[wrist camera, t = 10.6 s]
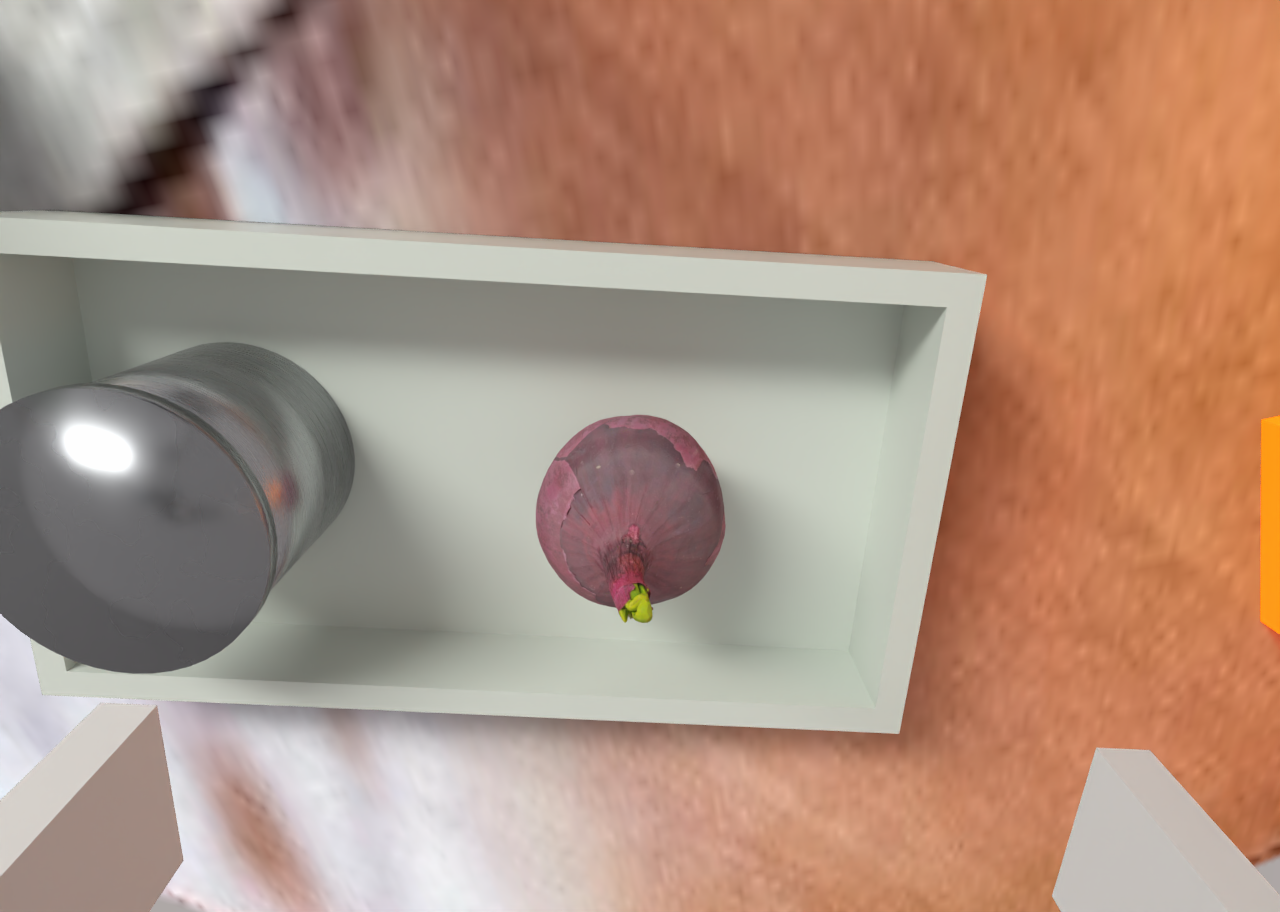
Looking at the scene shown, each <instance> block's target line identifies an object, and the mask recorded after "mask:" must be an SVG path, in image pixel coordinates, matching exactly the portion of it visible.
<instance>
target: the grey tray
mask: <svg viewBox="0 0 1280 912" xmlns="http://www.w3.org/2000/svg"><path fill="white" fill-rule="evenodd" d="M986 278H987V275H986V274H982V273H978V272H974V271H970V270H966V269H962V268H958V267H953V266H949V265H945V264H941V263H937V262H933V261H916V260H899V259H882V258H865V257H848V256H831V255H814V254H796V253H779V252H762V251H745V250H728V249H711V248H694V247H676V246H659V245H642V244H625V243H608V242H591V241H574V240H556V239H539V238H522V237H505V236H488V235H471V234H454V233H436V232H419V231H402V230H385V229H368V228H351V227H334V226H316V225H299V224H282V223H265V222H248V221H231V220H214V219H196V218H179V217H162V216H145V215H128V214H111V213H94V212H76V211H59V210H35V211H7V212H0V409H2V408H3V407H5V406H6V405H8V404H11V403H13V402H15V401H17V400H19V399H21V398H24V397H27V396H30V395H32V394H35V393H38V392H42V391H45V390H48V389H52V388H55V387H59V386H65V385H72V384H79V383H91V382H94V381H97V380H99V379H102V378H105V377H108V376H111V375H114V374H116V373H119V372H122V371H125V370H128V369H131V368H133V367H136V366H139V365H142V364H145V363H147V362H150V361H153V360H156V359H159V358H162V357H164V356H167V355H170V354H173V353H176V352H179V351H181V350H184V349H187V348H190V347H194V346H197V345H201V344H207V343H214V342H235V343H244V344H249V345H253V346H258V347H262V348H264V349H267V350H270V351H272V352H275V353H278V354H279V355H281V356H283V357H285V358H287V359H289V360H291V361H293V362H294V363H296V364H297V365H299V366H300V367H302V368H303V369H304V370H306V371H307V372H308V373H309V374H310V375H312V376H313V377H314V378H315V379H316V380H317V381H318V382H319V383H320V384H321V385H322V386H323V387H324V388H325V389H326V390H327V392H328V393H329V394H330V396H331V397H332V398H333V400H334V401H335V402H336V404H337V406H338V407H339V409H340V411H341V413H342V415H343V416H344V419H345V421H346V424H347V426H348V428H349V431H350V435H351V439H352V442H353V448H354V456H355V472H354V479H353V485H352V488H351V491H350V495H349V497H348V500H347V502H346V504H345V506H344V508H343V509H342V511H341V512H340V514H339V515H338V517H337V518H336V519H335V520H334V522H333V523H332V524H331V525H330V526H329V527H328V528H327V529H326V530H325V531H324V533H323V534H322V535H321V536H320V537H319V538H318V539H317V540H316V541H315V542H314V543H313V545H312V546H311V547H310V548H309V549H308V550H307V551H306V552H305V553H304V554H303V555H302V557H301V558H300V559H299V560H298V561H297V562H296V563H295V564H294V565H293V566H292V568H291V569H290V570H289V571H288V572H287V573H286V574H285V575H284V576H283V577H282V578H281V580H280V581H279V582H278V583H277V584H276V585H275V586H274V587H273V588H272V589H271V591H270V593H269V595H268V597H267V599H266V601H265V604H264V605H263V607H262V608H261V610H260V611H259V613H258V614H257V616H256V617H255V618H254V620H253V621H252V622H251V623H250V624H249V625H248V626H247V627H246V629H245V630H244V631H243V632H242V633H241V634H240V635H239V636H238V637H237V638H236V639H235V640H234V641H233V642H232V643H231V644H229V645H228V646H227V647H226V648H224V649H223V650H222V651H221V652H219V653H217V654H215V655H214V656H212V657H210V658H208V659H207V660H205V661H202V662H200V663H197V664H195V665H192V666H190V667H186V668H182V669H178V670H174V671H169V672H161V673H153V674H132V673H122V672H113V671H108V670H103V669H99V668H94V667H91V666H88V665H85V664H82V663H78V662H75V661H73V660H71V659H68V658H66V657H64V656H61V655H59V654H57V653H55V652H53V651H51V650H49V649H47V648H46V647H44V646H42V645H40V644H38V643H37V642H35V641H34V640H33V639H31V638H30V641H31V645H32V650H33V655H34V659H35V664H36V669H37V673H38V678H39V683H40V687H41V692H42V695H54V696H76V697H98V698H120V699H142V700H165V701H187V702H209V703H231V704H253V705H275V706H297V707H319V708H341V709H363V710H386V711H408V712H430V713H452V714H474V715H496V716H518V717H540V718H562V719H584V720H607V721H629V722H651V723H673V724H695V725H717V726H739V727H761V728H783V729H805V730H828V731H850V732H872V733H894V734H899V732H900V727H901V722H902V716H903V711H904V706H905V701H906V696H907V690H908V685H909V680H910V675H911V669H912V664H913V659H914V654H915V649H916V643H917V638H918V633H919V628H920V623H921V617H922V612H923V607H924V602H925V596H926V591H927V586H928V581H929V576H930V570H931V565H932V560H933V555H934V549H935V544H936V539H937V534H938V529H939V523H940V518H941V513H942V508H943V503H944V497H945V492H946V487H947V482H948V476H949V471H950V466H951V461H952V456H953V450H954V445H955V440H956V435H957V430H958V424H959V419H960V414H961V409H962V403H963V398H964V393H965V388H966V383H967V377H968V372H969V367H970V362H971V357H972V351H973V346H974V341H975V336H976V330H977V325H978V320H979V315H980V310H981V304H982V299H983V294H984V289H985V283H986ZM631 415H650V416H655V417H660V418H663V419H666V420H668V421H670V422H672V423H674V424H676V425H678V426H679V427H681V428H683V429H684V430H685V431H687V432H688V433H689V434H690V435H691V436H692V437H693V438H694V439H695V440H696V441H697V443H698V444H699V445H700V446H701V448H702V449H703V450H704V451H705V453H706V455H707V456H708V458H709V459H710V461H711V463H712V465H713V467H714V469H715V472H716V474H717V477H718V480H719V483H720V487H721V490H722V496H723V502H724V512H725V525H726V528H725V536H724V539H723V543H722V546H721V549H720V552H719V554H718V556H717V558H716V560H715V561H714V563H713V565H712V566H711V568H710V570H709V571H708V572H707V574H706V575H705V576H704V578H703V579H702V580H701V581H700V582H699V583H698V584H697V585H696V586H694V587H693V588H692V589H691V590H689V591H687V592H686V593H684V594H682V595H681V596H678V597H676V598H673V599H670V600H667V601H664V602H660V603H657V604H652V605H651V606H652V607H653V610H652V615H653V617H652V620H651V621H650V622H648V623H641V622H638V621H635V620H634V619H633V618H632V619H630V617H628V620H627V622H626V623H625V622H623V620H622V619H621V617H620V615H619V613H618V610H617V608H615V607H609V606H605V605H600V604H597V603H594V602H592V601H589V600H587V599H585V598H584V597H582V596H580V595H578V594H577V593H576V592H574V591H573V590H572V589H570V588H569V587H568V586H567V585H566V584H565V583H564V582H563V581H562V580H561V579H560V578H559V576H558V575H557V574H556V572H555V571H554V569H553V568H552V567H551V565H550V564H549V562H548V560H547V558H546V556H545V554H544V552H543V550H542V548H541V545H540V542H539V539H538V535H537V529H536V504H537V498H538V494H539V491H540V488H541V485H542V482H543V479H544V477H545V475H546V472H547V470H548V468H549V467H550V465H551V463H552V462H553V460H554V458H555V457H556V455H557V454H558V452H559V451H560V450H561V449H562V448H563V446H564V445H565V444H566V443H567V442H568V441H569V440H570V439H571V438H572V437H573V436H574V435H576V434H577V433H578V432H579V431H581V430H582V429H584V428H585V427H587V426H588V425H590V424H592V423H594V422H597V421H599V420H602V419H606V418H611V417H616V416H631Z"/></svg>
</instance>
